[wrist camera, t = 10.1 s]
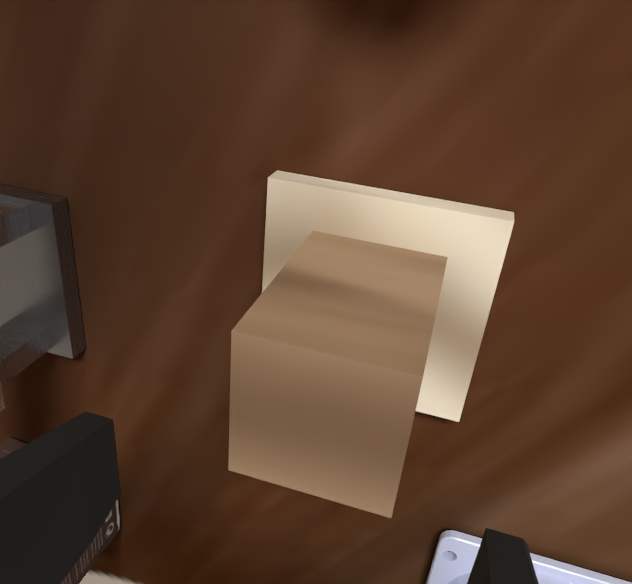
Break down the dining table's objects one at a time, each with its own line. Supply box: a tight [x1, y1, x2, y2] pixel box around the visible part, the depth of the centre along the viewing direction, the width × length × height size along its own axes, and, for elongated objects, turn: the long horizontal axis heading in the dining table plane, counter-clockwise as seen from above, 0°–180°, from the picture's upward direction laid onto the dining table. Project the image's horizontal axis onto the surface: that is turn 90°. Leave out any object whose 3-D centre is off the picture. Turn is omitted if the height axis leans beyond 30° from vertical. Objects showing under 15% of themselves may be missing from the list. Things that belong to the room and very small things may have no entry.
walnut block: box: [228, 231, 448, 518], centre depth 15 cm, size 4×4×6 cm
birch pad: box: [262, 170, 514, 422], centre depth 18 cm, size 7×7×1 cm
